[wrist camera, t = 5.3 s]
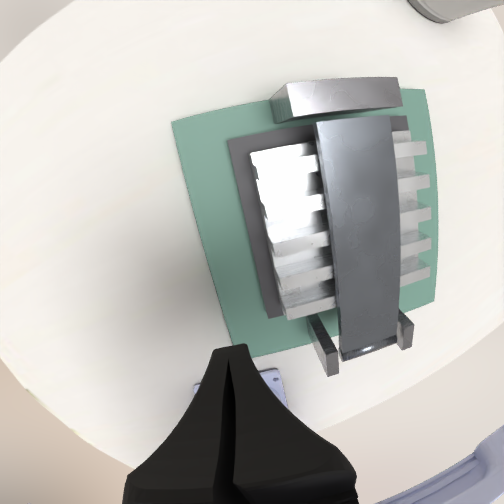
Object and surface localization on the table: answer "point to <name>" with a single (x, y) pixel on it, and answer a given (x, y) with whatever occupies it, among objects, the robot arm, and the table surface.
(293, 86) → the heat sink
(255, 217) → the circuit board
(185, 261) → the table surface
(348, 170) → the flat metal bar
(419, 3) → the travel mug
